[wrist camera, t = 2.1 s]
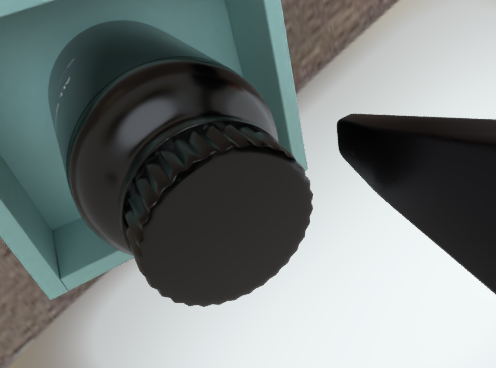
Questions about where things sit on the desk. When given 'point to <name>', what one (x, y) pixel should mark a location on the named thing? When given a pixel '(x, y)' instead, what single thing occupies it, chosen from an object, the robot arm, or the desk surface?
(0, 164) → the bin
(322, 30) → the desk surface
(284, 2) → the desk surface
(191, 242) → the supplement bottle
